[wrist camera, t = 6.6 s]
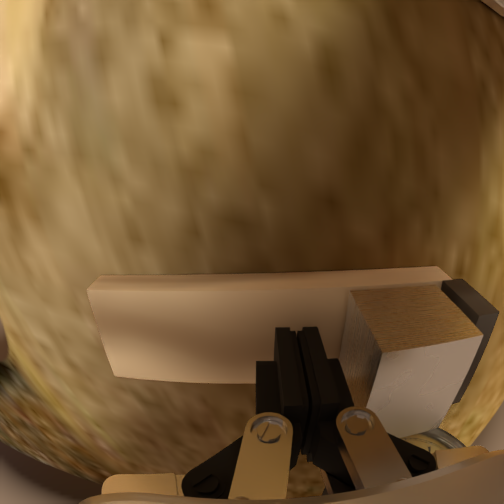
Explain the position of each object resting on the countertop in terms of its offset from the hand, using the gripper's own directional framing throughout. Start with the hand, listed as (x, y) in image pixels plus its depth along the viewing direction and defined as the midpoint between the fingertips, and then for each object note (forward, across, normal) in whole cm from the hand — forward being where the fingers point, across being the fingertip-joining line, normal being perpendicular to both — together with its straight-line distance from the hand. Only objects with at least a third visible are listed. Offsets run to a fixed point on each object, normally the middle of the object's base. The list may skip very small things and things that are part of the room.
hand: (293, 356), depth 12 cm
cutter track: (+3, +1, 0) cm, 3 cm away
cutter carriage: (+1, -4, 0) cm, 5 cm away
